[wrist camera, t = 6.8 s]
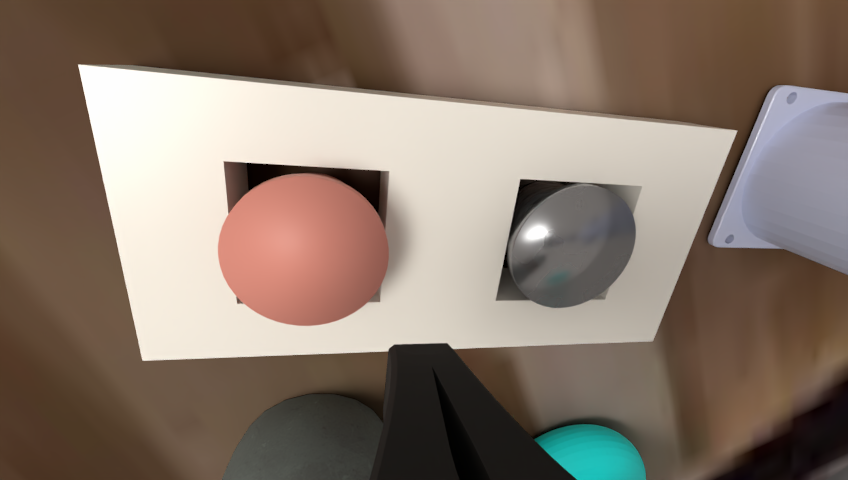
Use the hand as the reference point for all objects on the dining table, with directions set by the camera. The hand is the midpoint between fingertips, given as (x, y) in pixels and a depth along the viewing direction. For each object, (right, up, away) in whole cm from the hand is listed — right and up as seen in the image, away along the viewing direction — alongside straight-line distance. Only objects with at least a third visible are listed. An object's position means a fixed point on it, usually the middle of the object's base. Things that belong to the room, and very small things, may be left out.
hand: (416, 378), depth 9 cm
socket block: (0, +4, +9) cm, 10 cm away
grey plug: (+6, +4, +9) cm, 11 cm away
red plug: (-4, +4, +6) cm, 8 cm away
